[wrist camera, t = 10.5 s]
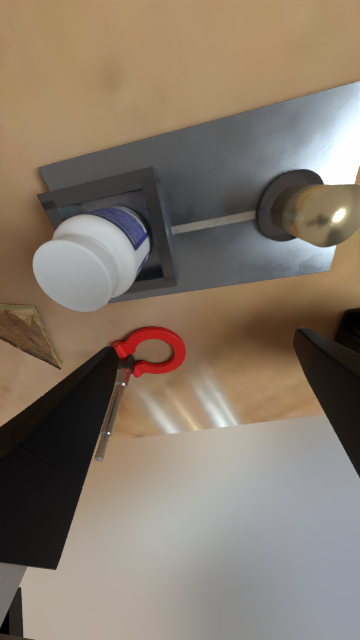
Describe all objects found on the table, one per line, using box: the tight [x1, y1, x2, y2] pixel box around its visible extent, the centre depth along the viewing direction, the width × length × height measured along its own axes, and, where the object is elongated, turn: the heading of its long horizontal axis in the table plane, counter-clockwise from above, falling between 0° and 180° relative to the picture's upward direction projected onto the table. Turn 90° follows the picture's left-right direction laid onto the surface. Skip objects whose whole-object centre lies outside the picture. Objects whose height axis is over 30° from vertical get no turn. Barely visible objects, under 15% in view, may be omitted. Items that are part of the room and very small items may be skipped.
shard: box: [0, 303, 63, 370], centre depth 26 cm, size 11×8×2 cm
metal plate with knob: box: [37, 81, 360, 303], centre depth 14 cm, size 23×12×7 cm, turn 100°
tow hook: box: [94, 327, 186, 461], centre depth 21 cm, size 8×13×9 cm
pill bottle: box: [33, 206, 151, 312], centre depth 13 cm, size 5×5×9 cm
